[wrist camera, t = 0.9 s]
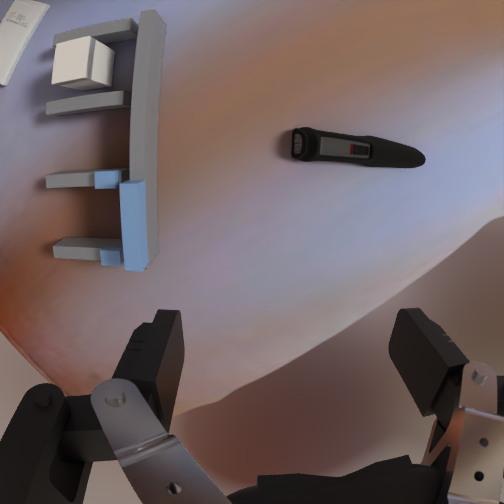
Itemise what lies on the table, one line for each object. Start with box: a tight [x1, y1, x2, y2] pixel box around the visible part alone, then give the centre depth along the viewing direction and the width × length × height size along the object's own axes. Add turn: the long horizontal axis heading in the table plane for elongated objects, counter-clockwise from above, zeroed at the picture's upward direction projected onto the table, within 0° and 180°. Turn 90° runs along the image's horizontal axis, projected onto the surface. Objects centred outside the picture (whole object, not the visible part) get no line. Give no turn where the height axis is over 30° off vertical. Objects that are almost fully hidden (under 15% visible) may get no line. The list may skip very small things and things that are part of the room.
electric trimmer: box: [291, 127, 426, 168], centre depth 32 cm, size 4×16×3 cm, turn 88°
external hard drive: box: [0, 0, 50, 86], centre depth 24 cm, size 2×8×12 cm
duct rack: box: [46, 10, 166, 272], centre depth 28 cm, size 27×13×7 cm, turn 177°
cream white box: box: [51, 36, 115, 91], centre depth 25 cm, size 4×4×7 cm
